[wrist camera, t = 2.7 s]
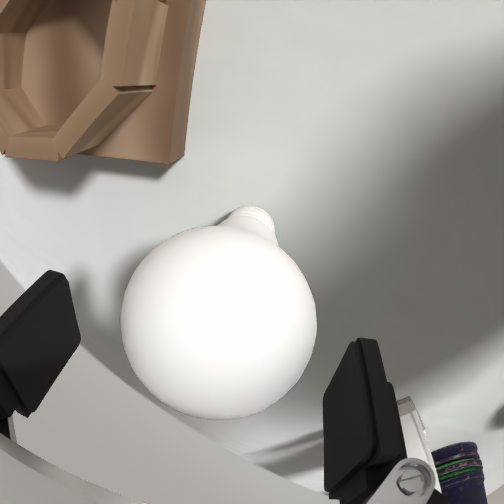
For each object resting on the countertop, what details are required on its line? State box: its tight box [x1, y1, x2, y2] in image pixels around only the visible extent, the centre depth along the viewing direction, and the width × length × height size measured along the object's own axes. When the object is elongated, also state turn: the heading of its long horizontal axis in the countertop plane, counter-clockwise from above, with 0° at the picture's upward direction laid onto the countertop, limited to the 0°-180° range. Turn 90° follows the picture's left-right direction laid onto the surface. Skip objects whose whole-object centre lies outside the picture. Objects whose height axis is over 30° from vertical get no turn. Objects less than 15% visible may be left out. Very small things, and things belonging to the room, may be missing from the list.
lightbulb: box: [120, 206, 317, 420], centre depth 12 cm, size 6×6×11 cm
